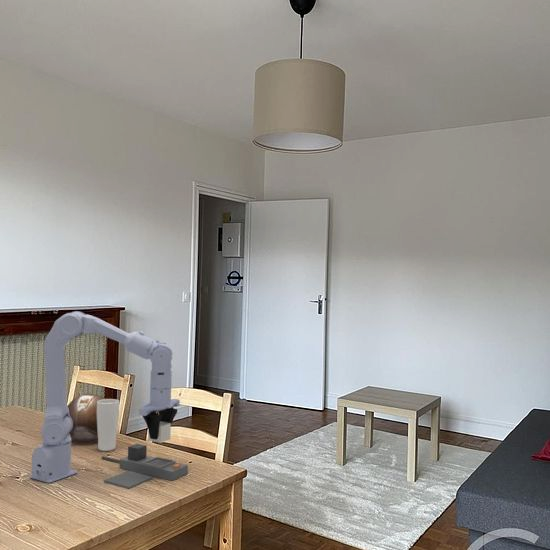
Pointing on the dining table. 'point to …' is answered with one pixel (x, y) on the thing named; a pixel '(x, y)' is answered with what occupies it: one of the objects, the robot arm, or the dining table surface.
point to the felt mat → (128, 479)
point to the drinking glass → (107, 423)
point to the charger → (162, 432)
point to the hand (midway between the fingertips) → (159, 436)
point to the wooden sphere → (84, 416)
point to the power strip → (150, 464)
